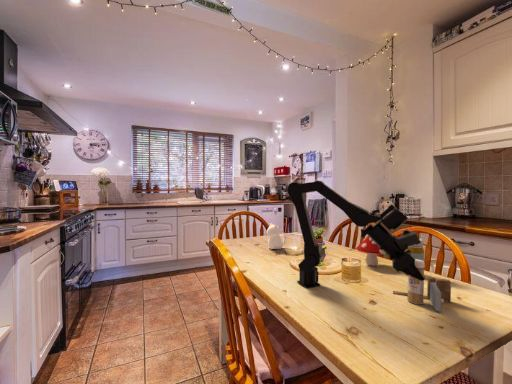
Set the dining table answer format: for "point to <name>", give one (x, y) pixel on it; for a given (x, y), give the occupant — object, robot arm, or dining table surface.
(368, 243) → the decorative mushroom
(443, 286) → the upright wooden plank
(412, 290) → the sprinkles bottle
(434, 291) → the door
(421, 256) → the bottle
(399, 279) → the dining table surface
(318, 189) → the robot arm
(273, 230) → the cat figurine
